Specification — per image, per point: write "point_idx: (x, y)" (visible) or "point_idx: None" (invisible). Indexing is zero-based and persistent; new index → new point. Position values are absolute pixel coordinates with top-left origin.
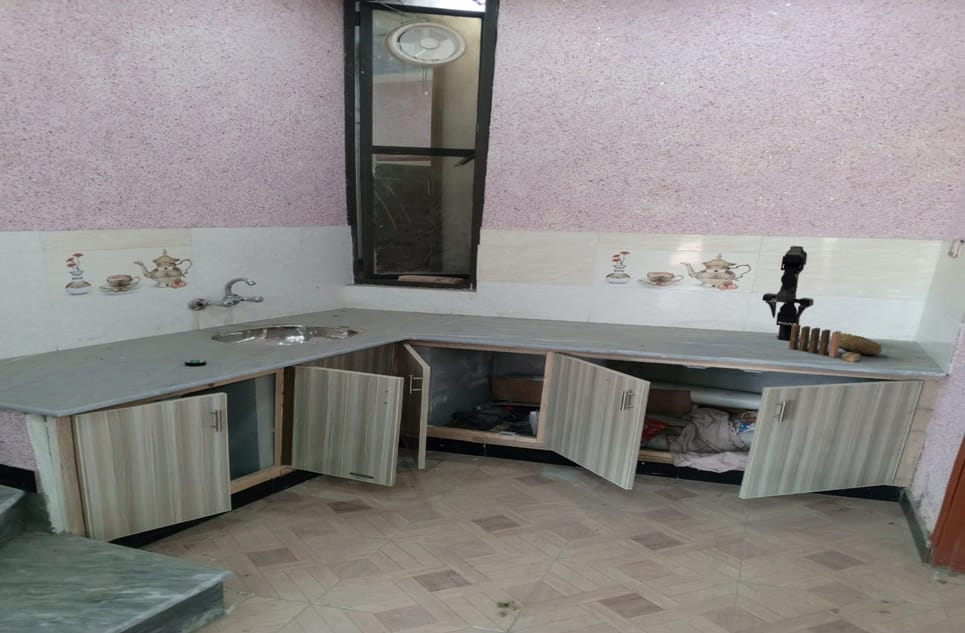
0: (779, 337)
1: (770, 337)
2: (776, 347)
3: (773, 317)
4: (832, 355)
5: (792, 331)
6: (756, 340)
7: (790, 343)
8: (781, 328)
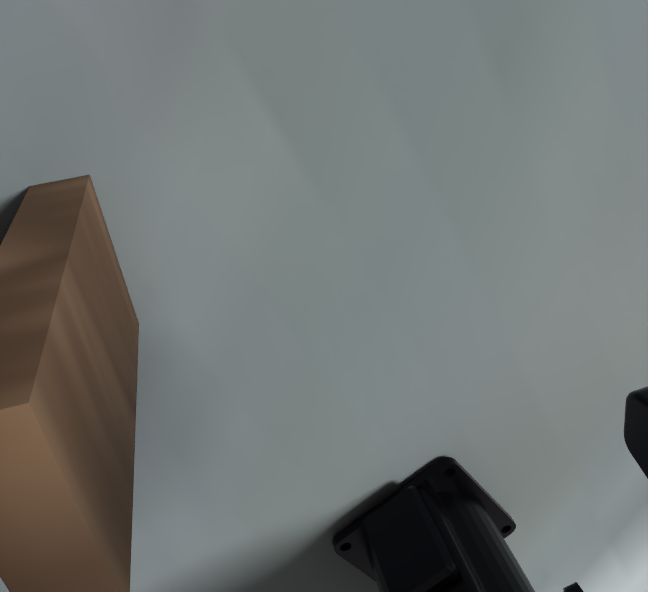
0: (460, 493)
1: (535, 455)
2: (226, 66)
3: (645, 393)
4: None
5: (21, 321)
6: (585, 198)
7: (65, 207)
8: (499, 581)
